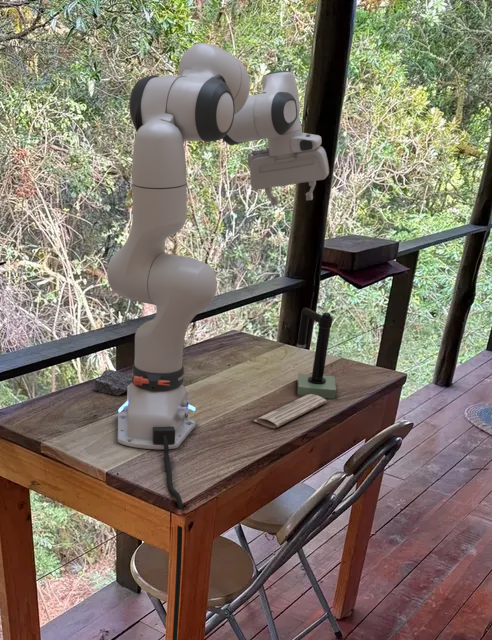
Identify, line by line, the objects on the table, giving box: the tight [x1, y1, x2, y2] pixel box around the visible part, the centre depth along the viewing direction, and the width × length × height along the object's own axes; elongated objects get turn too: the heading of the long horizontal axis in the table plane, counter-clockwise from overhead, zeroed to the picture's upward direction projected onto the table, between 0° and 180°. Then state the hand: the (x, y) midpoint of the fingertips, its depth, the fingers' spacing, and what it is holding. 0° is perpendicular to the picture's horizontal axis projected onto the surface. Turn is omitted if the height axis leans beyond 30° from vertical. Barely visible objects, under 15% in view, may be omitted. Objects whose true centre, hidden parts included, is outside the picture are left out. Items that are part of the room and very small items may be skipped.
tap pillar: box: [308, 326, 331, 384], centre depth 200 cm, size 5×5×15 cm
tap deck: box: [296, 372, 337, 400], centre depth 204 cm, size 11×10×2 cm
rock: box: [94, 369, 132, 396], centre depth 197 cm, size 8×10×4 cm
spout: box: [296, 307, 334, 349], centre depth 201 cm, size 13×3×12 cm, turn 23°
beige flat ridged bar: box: [253, 394, 327, 429], centre depth 189 cm, size 24×7×2 cm, turn 140°
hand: (292, 202), depth 197 cm, fingers open, 8 cm apart
